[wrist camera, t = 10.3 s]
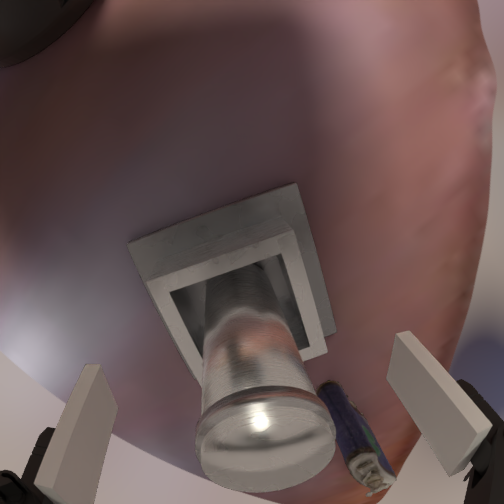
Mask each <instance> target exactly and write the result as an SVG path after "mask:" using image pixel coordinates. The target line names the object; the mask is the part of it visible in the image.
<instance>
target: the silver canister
mask: <svg viewBox="0 0 504 504" xmlns="http://www.w3.org/2000/svg"><path fill="white" fill-rule="evenodd" d="M335 439H336V427H335V425H334V422H333V420H332V417H331V415H330V413H329V410H328V408H327V406H326V405H325V403H324V402H323V401H322V400H321V399H320V398H319V397H317V395H316V393H315V390H314V388H313V385H312V383H311V380H310V378H309V375H308V373H307V371H306V368H305V366H304V363H303V361H302V358H301V356H300V353H299V351H298V348H297V346H296V343H295V341H294V338H293V336H292V333H291V331H290V329H289V326H288V324H287V321H286V319H285V316H284V314H283V311H282V309H281V306H280V304H279V302H278V299H277V297H276V294H275V292H274V289H273V287H272V284H271V282H270V280H269V278H268V276H267V275H266V273H265V272H264V271H263V270H262V269H260V268H259V267H257V266H256V265H253V264H249V265H246V266H243V267H240V268H237V269H235V270H232V271H229V272H226V273H223V274H220V275H217V276H215V277H212V278H210V279H209V282H208V284H207V288H206V302H205V322H204V344H203V370H202V407H201V417H200V419H199V421H198V423H197V426H196V436H195V452H196V456H197V458H198V460H199V462H200V463H201V466H202V469H203V472H204V473H205V475H206V476H207V477H208V478H209V479H210V480H212V481H213V482H214V483H216V484H218V485H220V486H222V487H225V488H228V489H231V490H235V491H241V492H254V493H257V492H271V491H277V490H282V489H286V488H289V487H292V486H295V485H298V484H300V483H302V482H305V481H307V480H308V479H310V478H312V477H314V476H315V475H316V474H318V473H319V472H320V471H322V470H323V469H324V468H325V467H326V466H327V465H328V463H329V462H330V461H331V459H332V457H333V456H334V453H335V447H336V445H335Z"/></svg>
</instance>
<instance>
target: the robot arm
mask: <svg viewBox="0 0 504 504" xmlns="http://www.w3.org/2000/svg"><path fill="white" fill-rule="evenodd" d="M92 2H93V0H0V68H1V67H7V66H11V65H14V64H17V63H19V62H22V61H24V60H26V59H28V58H30V57H32V56H33V55H35V54H37V53H38V52H40V51H41V50H43V49H44V48H46V47H47V46H49V45H50V44H51V43H53V42H54V41H55V40H56V39H58V38H59V37H60V36H61V35H62V34H63V33H64V32H65V31H67V30H68V29H69V28H70V27H71V26H72V25H73V24H74V23H75V22H76V21H77V20H78V19H79V17H80V16H81V15H82V14H83V13H84V12H85V11H86V9H87V8H88V7H89V6H90V4H91V3H92ZM386 379H387V381H388V382H389V384H390V385H391V387H392V388H393V390H394V391H395V393H396V394H397V396H398V397H399V399H400V400H401V402H402V404H403V405H404V407H405V408H406V410H407V411H408V413H409V414H410V416H411V417H412V419H413V420H414V422H415V423H416V425H417V427H418V428H419V430H420V431H421V433H422V434H423V436H424V438H425V439H426V441H427V442H428V444H429V445H430V447H431V449H432V450H433V452H434V453H435V455H436V457H437V458H438V460H439V461H440V463H441V465H442V466H443V468H444V469H445V471H446V473H447V474H448V476H449V477H450V476H452V475H454V474H456V473H458V472H460V471H462V470H464V469H465V467H466V466H467V465H468V463H469V462H470V461H471V463H472V464H473V467H472V468H471V470H470V471H469V472H468V474H467V475H466V476H465V478H464V480H463V481H466V480H467V479H468V477H469V476H470V477H469V482H468V487H467V491H466V496H465V500H464V504H504V421H503V420H502V419H501V418H500V417H499V415H498V414H497V413H496V412H495V411H494V410H493V409H492V408H491V406H490V405H489V404H488V403H487V402H486V401H485V400H484V399H483V397H482V396H481V395H480V394H478V392H477V390H476V389H475V388H474V387H473V386H472V385H471V384H469V383H468V382H466V381H464V380H462V379H461V380H458V381H455V380H454V379H453V378H452V377H451V376H450V374H449V373H448V372H447V371H446V370H445V369H444V368H443V367H442V366H441V364H440V363H439V362H438V361H437V360H436V359H435V358H434V357H433V356H432V354H431V353H430V352H429V351H428V350H427V349H426V348H425V347H424V346H423V345H422V344H421V342H420V341H419V340H418V339H417V338H416V337H415V336H414V335H413V334H412V333H411V332H410V331H405V332H400V333H396V334H395V340H394V345H393V350H392V355H391V359H390V364H389V368H388V373H387V377H386ZM117 412H118V406H117V404H116V402H115V399H114V397H113V394H112V392H111V390H110V387H109V385H108V382H107V380H106V377H105V375H104V372H103V369H102V367H101V364H86V365H85V367H84V369H83V371H82V373H81V375H80V377H79V379H78V381H77V383H76V385H75V387H74V389H73V391H72V393H71V395H70V398H69V400H68V402H67V404H66V406H65V409H64V411H63V413H62V415H61V417H60V420H59V422H58V424H57V426H56V428H50V427H47V428H46V429H45V430H44V431H43V432H42V433H41V434H40V436H39V438H38V440H37V442H36V444H35V447H34V449H33V451H32V455H31V456H30V458H29V461H28V463H27V465H26V468H25V470H24V473H23V475H22V478H21V479H20V478H19V477H18V476H17V475H16V474H15V473H13V472H12V471H8V470H3V471H0V504H94V501H95V496H96V492H97V488H98V483H99V479H100V475H101V471H102V466H103V463H104V458H105V455H106V451H107V447H108V444H109V440H110V436H111V433H112V429H113V425H114V422H115V418H116V415H117Z"/></svg>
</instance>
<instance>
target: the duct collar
mask: <svg viewBox="0 0 504 504" xmlns="http://www.w3.org/2000/svg"><path fill="white" fill-rule="evenodd" d="M126 246H127V248H128V250H129V253H130V255H131V257H132V259H133V261H134V264H135V266H136V268H137V270H138V272H139V275H140V277H141V279H142V281H143V283H144V285H145V287H146V289H147V291H148V294H149V296H150V298H151V300H152V302H153V304H154V306H155V308H156V310H157V312H158V314H159V316H160V318H161V320H162V322H163V324H164V325H165V327H166V329H167V331H168V333H169V335H170V337H171V339H172V341H173V342H174V344H175V346H176V348H177V350H178V352H179V353H180V355H181V357H182V359H183V361H184V362H185V364H186V366H187V368H188V370H189V371H190V373H191V375H192V377H193V378H194V380H195V379H197V381H198V382H199V384H200V386H201V387H202V370H203V344H204V322H205V302H206V288H207V284H208V282H209V279H210V278H212V277H215V276H217V275H220V274H223V273H226V272H229V271H232V270H235V269H237V268H240V267H243V266H246V265H249V264H253V265H256V266H257V267H259V268H260V269H262V270H263V271H264V272H265V273H266V275H267V276H268V278H269V280H270V282H271V284H272V287H273V289H274V292H275V294H276V297H277V299H278V302H279V304H280V306H281V309H282V311H283V314H284V316H285V319H286V321H287V324H288V326H289V329H290V331H291V333H292V336H293V338H294V341H295V343H296V346H297V348H298V351H299V353H300V356H301V358H302V361H306V360H309V359H312V358H314V357H317V356H320V355H322V354H325V353H328V351H327V347H326V343H325V339H324V337H326V336H329V335H331V334H334V333H336V332H337V330H336V325H335V321H334V317H333V313H332V309H331V305H330V301H329V297H328V293H327V289H326V285H325V281H324V277H323V274H322V270H321V266H320V262H319V259H318V255H317V251H316V248H315V244H314V240H313V237H312V233H311V230H310V226H309V223H308V219H307V216H306V212H305V209H304V206H303V202H302V199H301V196H300V192H299V189H298V186H297V183H295V182H293V183H290V184H287V185H284V186H280V187H277V188H274V189H272V190H269V191H266V192H263V193H260V194H257V195H254V196H251V197H248V198H245V199H242V200H239V201H237V202H234V203H231V204H228V205H225V206H222V207H220V208H217V209H214V210H211V211H209V212H206V213H203V214H200V215H198V216H195V217H192V218H190V219H187V220H184V221H182V222H179V223H176V224H174V225H171V226H168V227H166V228H163V229H161V230H158V231H155V232H153V233H150V234H148V235H145V236H143V237H140V238H138V239H135V240H133V241H130V242H129V243H128V244H127V245H126Z"/></svg>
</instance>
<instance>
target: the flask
mask: <svg viewBox="0 0 504 504" xmlns="http://www.w3.org/2000/svg"><path fill="white" fill-rule="evenodd" d="M343 390H344V389H342V386H341V385H340V384H339V382H336V381H329V380H328V381H327V382H325V383H323V384H322V385H320V386H319V388H318V389H317V392H316V395H317V397H319V398H320V399H321V400H322V401H323V402H324V403H325V405H326V406H327V408H328V410H329V413H330V415H331V417H332V420H333V422H334V425H335V427H336V440H337V443H338V445H339V448H340V450H341V452H342V454H343V457H344V460H345V463H346V465H347V467H348V469H349V471H350V474H351V475H352V476H353V478H354V479H355V480H356V481H357V482H359V483H360V484H362V485H364V486H366V487H369V488H371V492H368V493H366V496H367V497H368V496H370V497H371V496H372V493H377V492H379V491H381V490H382V489H387V488H388V487H389V486H390V485H391V484H393V483H394V482H395V481H396V475H395V473H394V471H393V470H392V467H391V466H390V464H389V462H388V460H387V459H386V457H385V455H384V453H383V451H382V449H381V447H380V445H379V444H378V442H377V440H376V438H375V436H374V434H373V432H372V430H371V428H370V426H369V425H368V421H367V420H366V418H365V417H364V416H363V414H362V413H360V412H359V411H358V410H357V406H355V404H354V402H352V401H349V400H348V396H347V395H345V393H344V391H343Z"/></svg>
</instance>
